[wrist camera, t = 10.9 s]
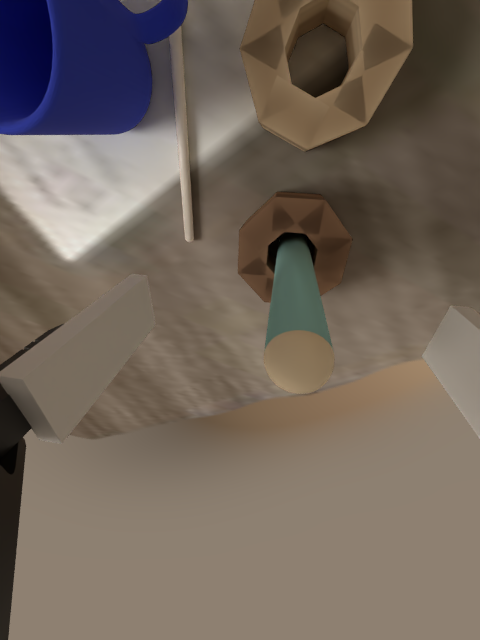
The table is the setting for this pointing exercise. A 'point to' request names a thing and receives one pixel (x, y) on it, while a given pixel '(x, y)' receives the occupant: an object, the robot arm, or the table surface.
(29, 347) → the robot arm
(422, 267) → the table surface
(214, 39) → the table surface
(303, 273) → the teal rod
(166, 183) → the table surface
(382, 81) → the maple bead
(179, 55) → the thin beige rod
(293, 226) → the walnut bead
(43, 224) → the table surface
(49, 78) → the mug
